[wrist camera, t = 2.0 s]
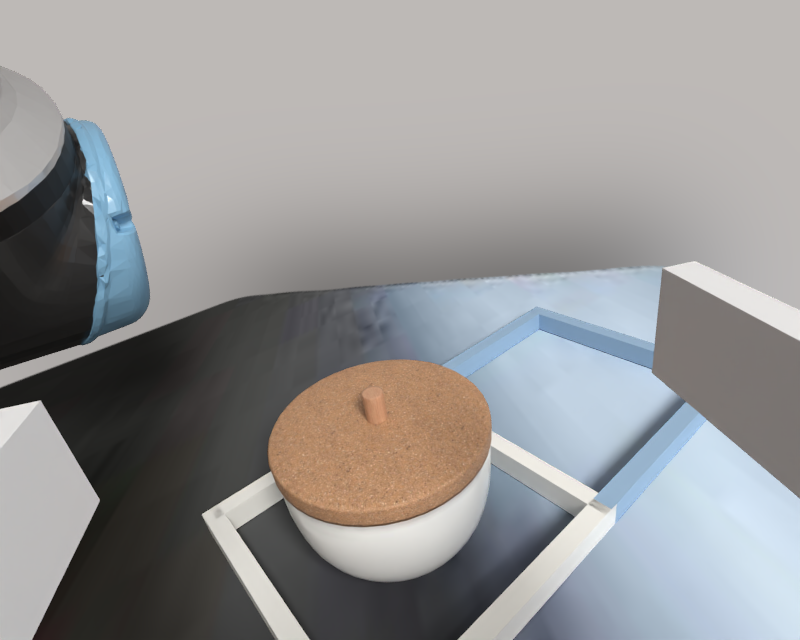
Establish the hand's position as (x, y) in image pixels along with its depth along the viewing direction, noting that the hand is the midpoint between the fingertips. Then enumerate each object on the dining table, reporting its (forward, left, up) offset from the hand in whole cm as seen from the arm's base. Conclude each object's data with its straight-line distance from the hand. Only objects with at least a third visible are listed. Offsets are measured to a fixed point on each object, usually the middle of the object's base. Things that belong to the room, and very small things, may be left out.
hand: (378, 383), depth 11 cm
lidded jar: (-9, +5, -17) cm, 20 cm away
